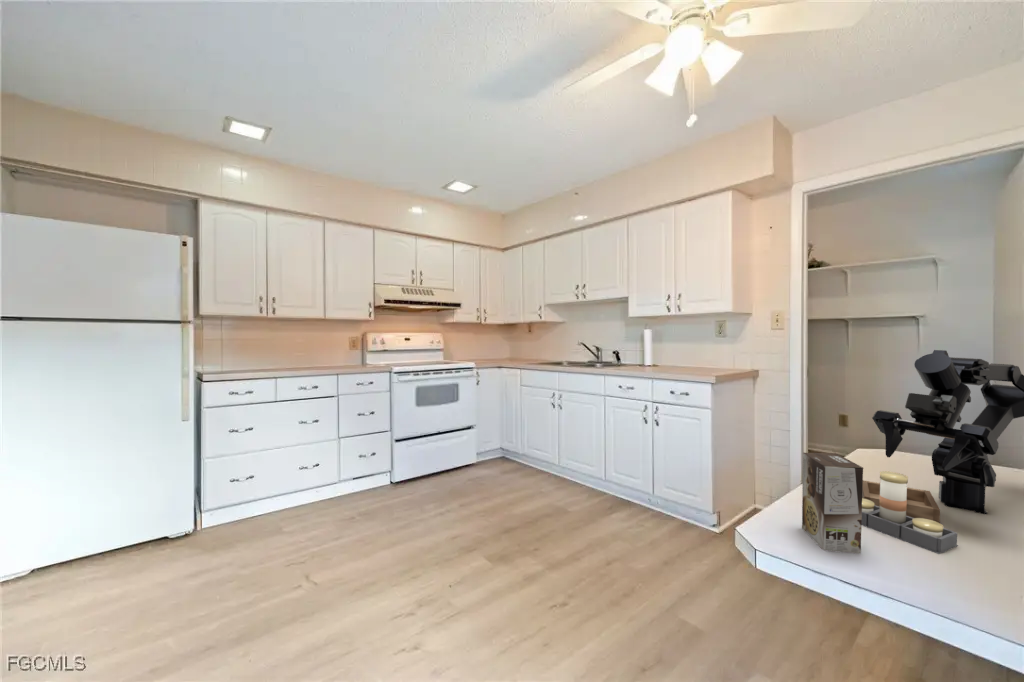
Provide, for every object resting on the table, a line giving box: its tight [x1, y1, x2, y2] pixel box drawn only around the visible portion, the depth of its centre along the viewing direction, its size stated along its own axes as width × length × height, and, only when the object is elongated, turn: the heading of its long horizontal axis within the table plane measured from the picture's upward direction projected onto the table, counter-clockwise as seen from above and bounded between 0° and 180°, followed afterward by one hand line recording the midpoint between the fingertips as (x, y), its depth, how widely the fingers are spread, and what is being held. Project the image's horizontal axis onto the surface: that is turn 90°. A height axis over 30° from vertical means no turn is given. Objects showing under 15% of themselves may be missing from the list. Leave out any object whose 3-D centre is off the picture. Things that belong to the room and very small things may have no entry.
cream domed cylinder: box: [862, 498, 874, 513], centre depth 92 cm, size 4×4×4 cm
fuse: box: [912, 518, 944, 538], centre depth 82 cm, size 4×4×4 cm
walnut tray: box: [862, 479, 941, 524], centre depth 97 cm, size 12×12×4 cm
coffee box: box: [801, 452, 864, 554], centre depth 83 cm, size 9×6×16 cm
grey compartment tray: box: [861, 505, 959, 555], centre depth 87 cm, size 17×7×3 cm, turn 24°
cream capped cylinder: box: [879, 470, 909, 524], centre depth 87 cm, size 4×4×11 cm
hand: (914, 462), depth 89 cm, fingers open, 9 cm apart
